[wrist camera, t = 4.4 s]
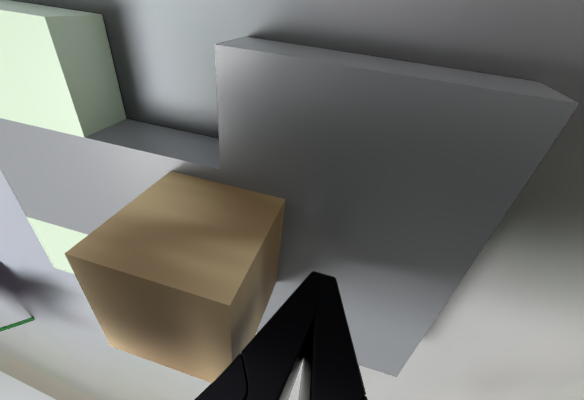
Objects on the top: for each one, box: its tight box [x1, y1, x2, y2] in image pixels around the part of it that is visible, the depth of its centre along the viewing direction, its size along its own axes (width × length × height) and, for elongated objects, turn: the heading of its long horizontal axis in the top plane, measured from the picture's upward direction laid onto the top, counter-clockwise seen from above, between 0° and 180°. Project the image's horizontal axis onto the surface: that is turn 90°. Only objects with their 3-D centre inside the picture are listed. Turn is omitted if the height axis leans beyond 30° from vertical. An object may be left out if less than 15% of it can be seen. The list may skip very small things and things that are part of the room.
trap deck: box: [0, 0, 579, 377], centre depth 12 cm, size 18×12×2 cm, turn 84°
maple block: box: [64, 171, 285, 383], centre depth 9 cm, size 4×4×4 cm
